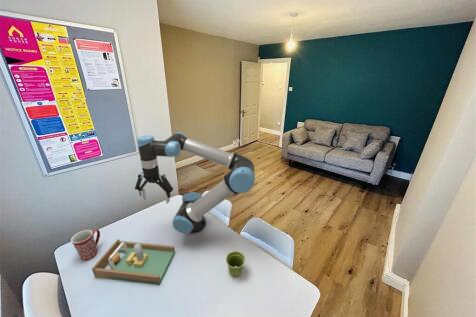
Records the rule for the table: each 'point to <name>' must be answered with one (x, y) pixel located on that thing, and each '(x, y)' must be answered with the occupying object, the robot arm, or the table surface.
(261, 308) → the table surface
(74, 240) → the mug
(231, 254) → the plant pot
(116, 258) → the ball
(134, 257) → the kicker
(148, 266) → the pitch
